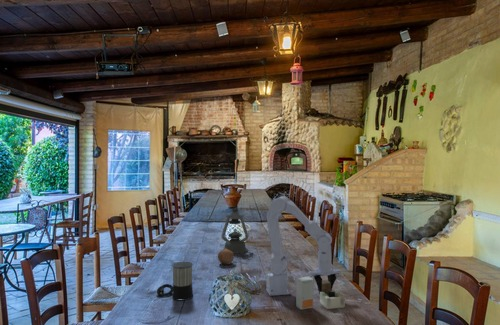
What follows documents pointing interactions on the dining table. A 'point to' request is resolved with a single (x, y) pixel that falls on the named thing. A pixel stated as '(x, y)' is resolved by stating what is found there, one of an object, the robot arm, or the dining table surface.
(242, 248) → the lantern
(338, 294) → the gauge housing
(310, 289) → the skincare box
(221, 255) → the onion
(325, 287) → the walnut block
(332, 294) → the plunger
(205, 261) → the dining table surface
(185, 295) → the milk frother
